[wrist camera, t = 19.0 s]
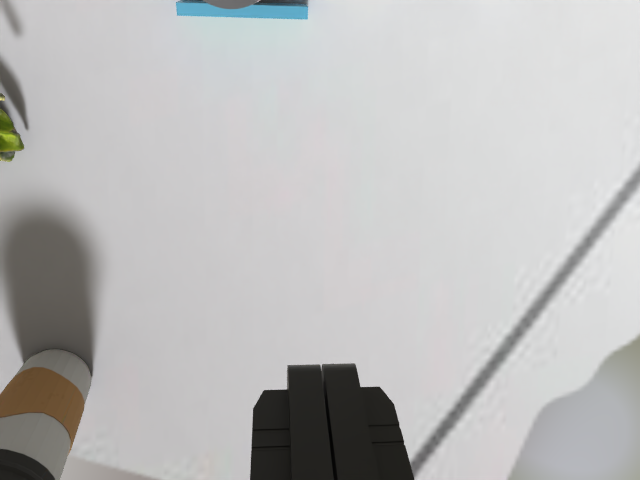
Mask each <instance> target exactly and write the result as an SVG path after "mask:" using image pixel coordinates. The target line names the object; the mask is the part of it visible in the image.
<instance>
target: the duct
mask: <svg viewBox="0 0 640 480" xmlns="http://www.w3.org/2000/svg"><path fill="white" fill-rule="evenodd" d="M176 8H177V15H179V16H211V17H244V18H277V19H308V6H307V5H306V4H290V3H259V2H256V3H254V4H252V5H250V6H247V7H244V8H240V9H223V8H219V7H215V6H213V5H210V4H208V3H206V2H204V1H199V0H181V1H178V2H176Z"/></svg>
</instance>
